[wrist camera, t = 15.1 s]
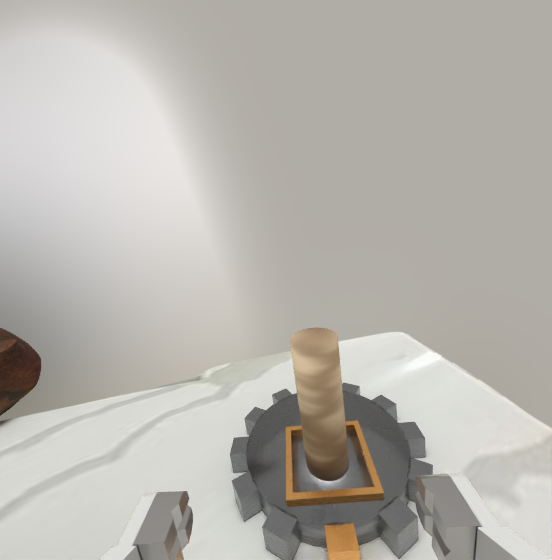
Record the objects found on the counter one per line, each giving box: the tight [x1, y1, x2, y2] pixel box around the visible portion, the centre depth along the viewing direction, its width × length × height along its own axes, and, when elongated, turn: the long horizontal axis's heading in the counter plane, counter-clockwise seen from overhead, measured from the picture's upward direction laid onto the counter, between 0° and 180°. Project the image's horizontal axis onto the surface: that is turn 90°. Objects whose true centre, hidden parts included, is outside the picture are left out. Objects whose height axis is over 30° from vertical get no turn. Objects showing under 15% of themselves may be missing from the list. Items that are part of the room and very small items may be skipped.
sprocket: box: [230, 383, 433, 560], centre depth 31 cm, size 22×22×3 cm
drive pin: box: [290, 328, 349, 481], centre depth 26 cm, size 4×4×14 cm
